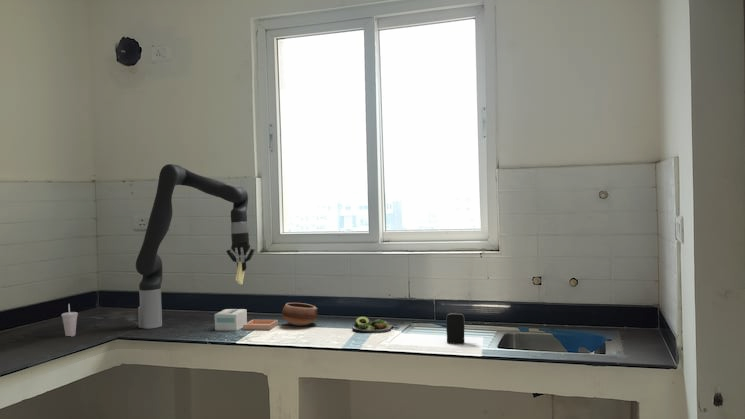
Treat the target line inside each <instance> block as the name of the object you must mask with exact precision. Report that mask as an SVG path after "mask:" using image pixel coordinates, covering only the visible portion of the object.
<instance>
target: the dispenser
mask: <svg viewBox="0 0 745 419" xmlns="http://www.w3.org/2000/svg"><path fill="white" fill-rule="evenodd" d="M247 311H248V310H247V309H244V308H239V309H238V308H225V309H222V310H221V311H219V312H217V313H214V330H215V331H229V332H230V331H237V332H238V331H239V330H240V329H242V328H243V325H244V324H246V323H247V322H248V319H247V318H248V316H247V314H248V313H247Z"/></svg>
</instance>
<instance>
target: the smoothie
mask: <svg viewBox="0 0 745 419" xmlns="http://www.w3.org/2000/svg"><path fill="white" fill-rule="evenodd" d="M67 306H68V312H63V313H61V316H60V317H61V318H62V323H63V330H64V334H65V337H66V336H71V337H75V336H76V333H77V332H76V330H77V322H78V321H77V320H78V315H79V313H78V312H76V311H71V306H70V303H68V305H67Z"/></svg>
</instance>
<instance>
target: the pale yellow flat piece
mask: <svg viewBox="0 0 745 419" xmlns="http://www.w3.org/2000/svg"><path fill="white" fill-rule="evenodd" d="M245 272H246V270H245V271H242V260H241V261H239V262H238V268H237V267H236V275H235V281H236V283H238V285H240V286H241V285H244V284H243V283H244V278H245Z"/></svg>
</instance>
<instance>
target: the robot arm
mask: <svg viewBox="0 0 745 419" xmlns="http://www.w3.org/2000/svg"><path fill="white" fill-rule="evenodd" d="M176 186H186V187H190V188H193V189H196V190H198V191H200V192H203V193H205V194H207V195H210V196H213V197H216V198H220V199H223V200H225V201H227V202H229V203H232V204H233V207H232V209H231V210H230V234H231V235H230V237H231V246H230V248H229V249H227V250H226V251H225V252H226V253H227V255H228V257H229V258H230V259H231V261H232V262H234V263H236V269H237V268H238V262H239V261H242V271H245V272H246V270H247V263H248V262H249V261H251V259H252V258H253V255H254V253H255V252H256V248H253V247H251V245H250V237H249V235H250V234H249V230H250V229H249V225H248V215H247V214H248V213H247V210H248V204H249V194H248V191H247V190H246V189H245V188H244V187H241V186H232V185H229V184H227V183H225V181H224V182H223V181H220V180H218V179H213V178H210V177H206V176H203V175H199V174H197V173H195V172H192V171H190V170H188V169H187V168H184V167H182V166H181V165H178V164H173V163H169V164H165V165H164V166H162V168H161V169H160V171H159V175H158V183H157V188H156V194H155V197H154V201H153V205H152V209H151V212H150V214H149V218H148V222H147V227H146V230H145V234H144V238H143V242H142V245H141V247H140V250H139V253H138V254H137V258H136V261H135V269H136V272H137V273H138V274H139V275H141V276H142V279H141V281H140V282H139V285H138V286H139V290H138V292H139V306H138V307H137V314H138V315H137V316H138V328H141V329H147V330H148V329H157V328H161V327H162V326H163V314H162V313H163V311H162V310H163V309H162V308H163V307H162V305H163V304H162V282H163V260H162V257H160V255H159V254H158V250H159V247H160V245H161V243H162V242H163V241H164V239H165V237H166V234H167V233H168V231H169V229H170V226H171V222H172V219H173V211H174V210H173V201H172V200H173V199H172V197H173V193H174V190H175V187H176ZM247 253H248V254H247Z"/></svg>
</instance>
